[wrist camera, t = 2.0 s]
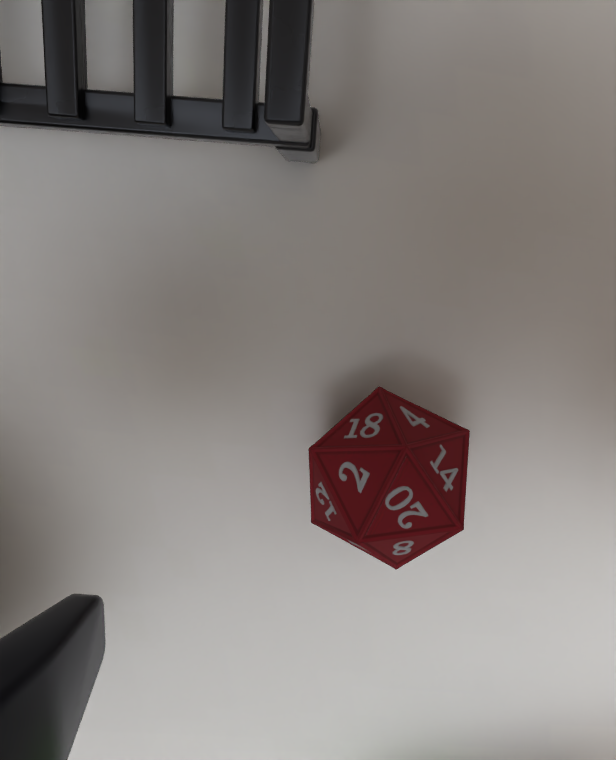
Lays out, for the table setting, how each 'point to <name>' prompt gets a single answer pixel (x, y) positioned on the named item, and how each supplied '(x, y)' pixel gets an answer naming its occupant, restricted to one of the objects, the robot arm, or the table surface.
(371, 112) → the table surface
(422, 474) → the dice
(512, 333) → the table surface
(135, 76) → the rack
